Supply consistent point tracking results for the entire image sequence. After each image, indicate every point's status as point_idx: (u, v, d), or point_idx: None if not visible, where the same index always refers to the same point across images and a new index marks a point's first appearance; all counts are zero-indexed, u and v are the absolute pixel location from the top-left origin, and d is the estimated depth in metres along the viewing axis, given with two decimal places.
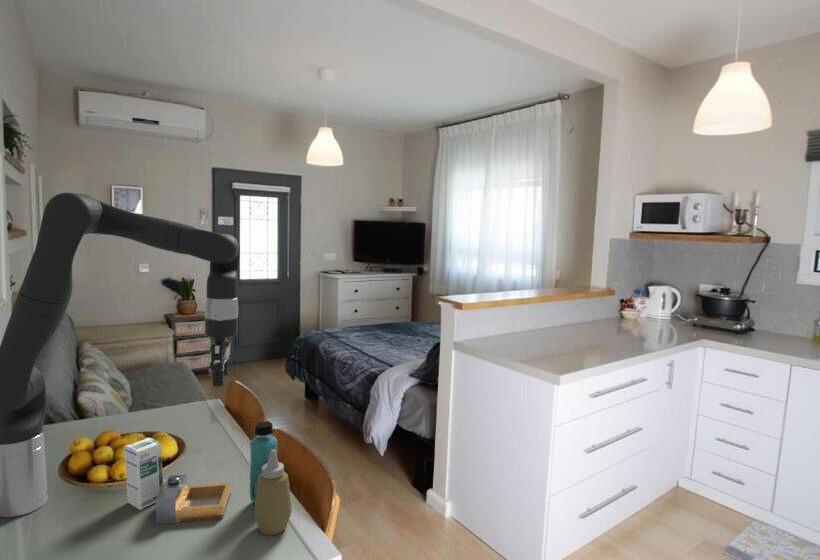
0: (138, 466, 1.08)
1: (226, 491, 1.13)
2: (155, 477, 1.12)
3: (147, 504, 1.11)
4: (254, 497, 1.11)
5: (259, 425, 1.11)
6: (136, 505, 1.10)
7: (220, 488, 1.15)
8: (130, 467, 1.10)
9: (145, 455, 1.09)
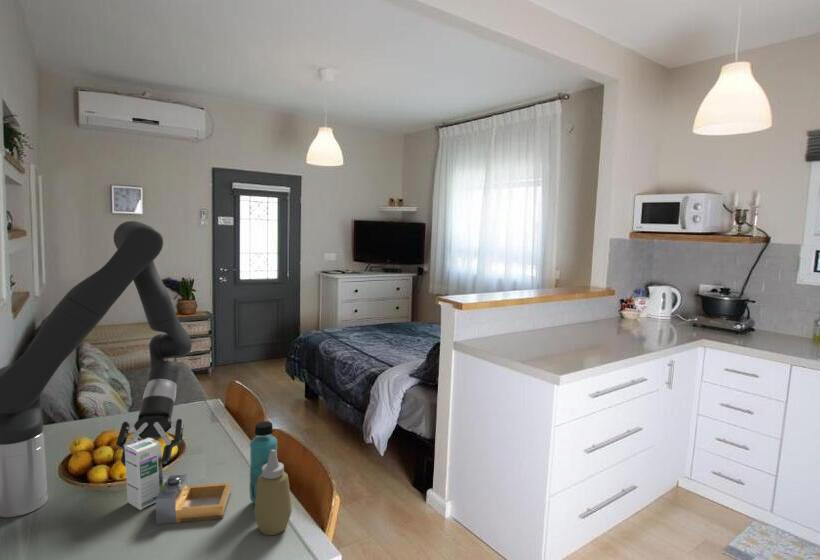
0: (138, 466, 1.08)
1: (226, 491, 1.13)
2: (155, 477, 1.12)
3: (147, 504, 1.11)
4: (254, 497, 1.11)
5: (259, 425, 1.11)
6: (136, 505, 1.10)
7: (220, 488, 1.15)
8: (130, 467, 1.10)
9: (145, 455, 1.09)
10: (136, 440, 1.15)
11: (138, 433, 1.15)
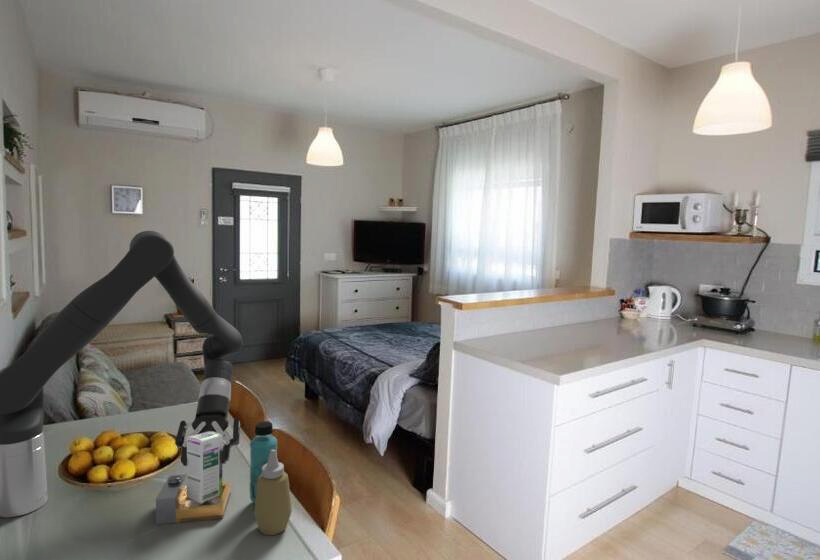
0: (201, 456, 1.07)
1: (226, 491, 1.13)
2: (216, 470, 1.10)
3: (207, 498, 1.08)
4: (254, 497, 1.11)
5: (259, 425, 1.11)
6: (196, 499, 1.08)
7: None
8: (192, 458, 1.09)
9: (208, 446, 1.09)
10: None
11: (196, 432, 1.13)
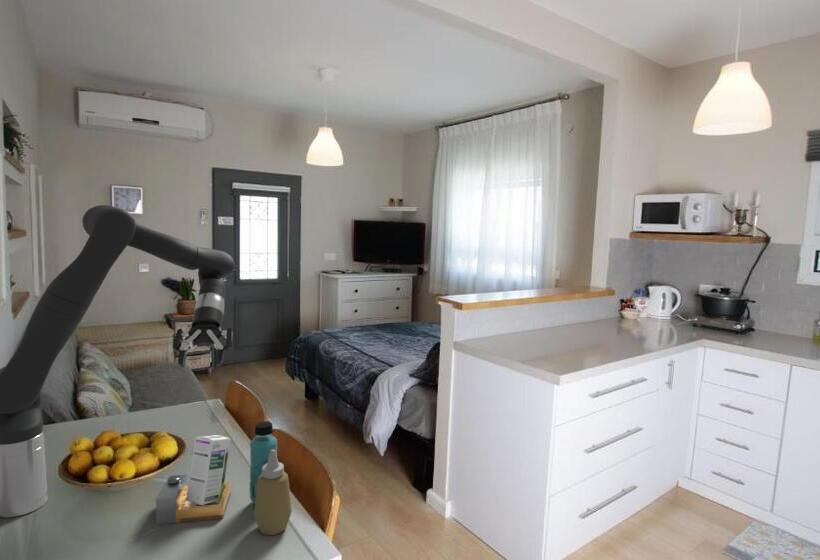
0: (209, 455, 1.09)
1: (226, 491, 1.13)
2: (220, 473, 1.11)
3: (208, 501, 1.08)
4: (254, 497, 1.11)
5: (259, 425, 1.11)
6: (198, 500, 1.07)
7: None
8: (198, 458, 1.10)
9: (217, 446, 1.11)
10: (190, 345, 1.23)
11: (192, 338, 1.23)
